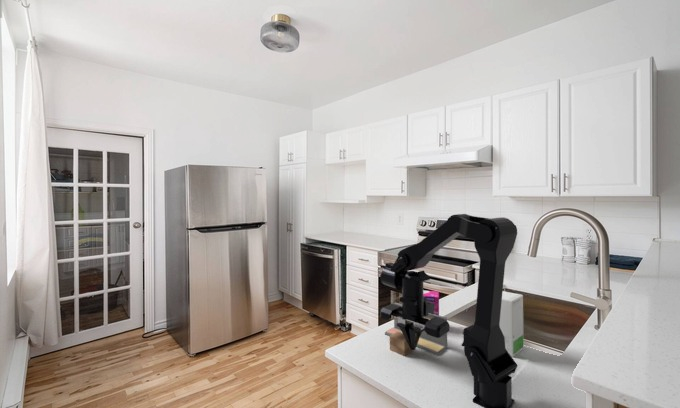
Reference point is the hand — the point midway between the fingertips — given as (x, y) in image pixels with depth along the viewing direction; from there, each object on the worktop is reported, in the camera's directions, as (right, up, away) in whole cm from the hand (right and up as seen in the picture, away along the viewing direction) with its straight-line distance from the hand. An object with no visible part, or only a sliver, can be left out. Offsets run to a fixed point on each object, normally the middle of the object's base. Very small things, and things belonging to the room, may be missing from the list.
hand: (413, 349), depth 85 cm
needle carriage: (-3, -2, +3) cm, 4 cm away
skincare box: (+27, -2, +3) cm, 28 cm away
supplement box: (+10, -1, +18) cm, 21 cm away
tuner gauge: (+2, -2, +8) cm, 9 cm away
